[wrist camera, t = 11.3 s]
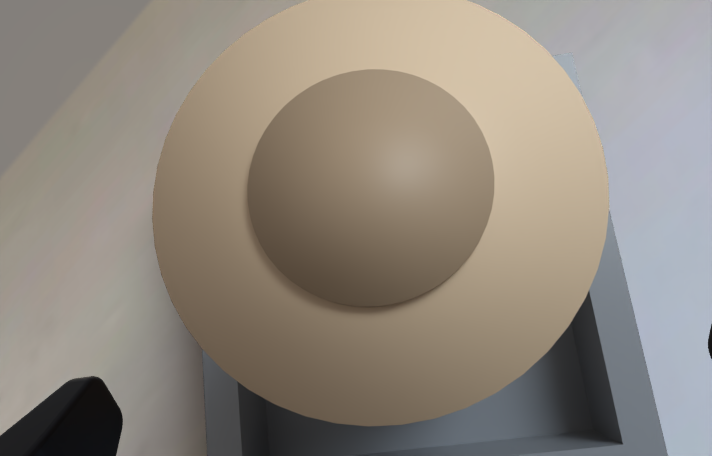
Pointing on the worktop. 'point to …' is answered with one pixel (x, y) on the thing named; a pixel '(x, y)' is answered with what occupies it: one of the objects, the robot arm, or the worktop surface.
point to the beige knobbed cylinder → (380, 208)
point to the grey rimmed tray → (495, 413)
